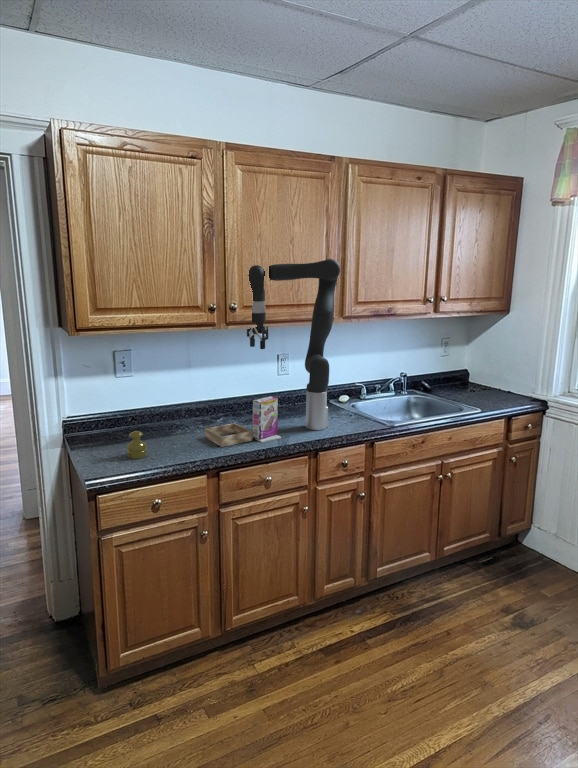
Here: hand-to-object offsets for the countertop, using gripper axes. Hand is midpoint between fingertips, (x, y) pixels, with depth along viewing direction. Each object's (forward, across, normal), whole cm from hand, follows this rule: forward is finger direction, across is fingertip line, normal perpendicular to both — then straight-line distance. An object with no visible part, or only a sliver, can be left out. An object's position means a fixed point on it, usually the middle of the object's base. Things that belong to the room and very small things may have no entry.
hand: (257, 347), depth 236 cm
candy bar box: (+36, -17, +7) cm, 40 cm away
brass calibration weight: (+36, -8, +60) cm, 71 cm away
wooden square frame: (+36, -10, +21) cm, 43 cm away
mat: (+36, -17, +7) cm, 41 cm away
